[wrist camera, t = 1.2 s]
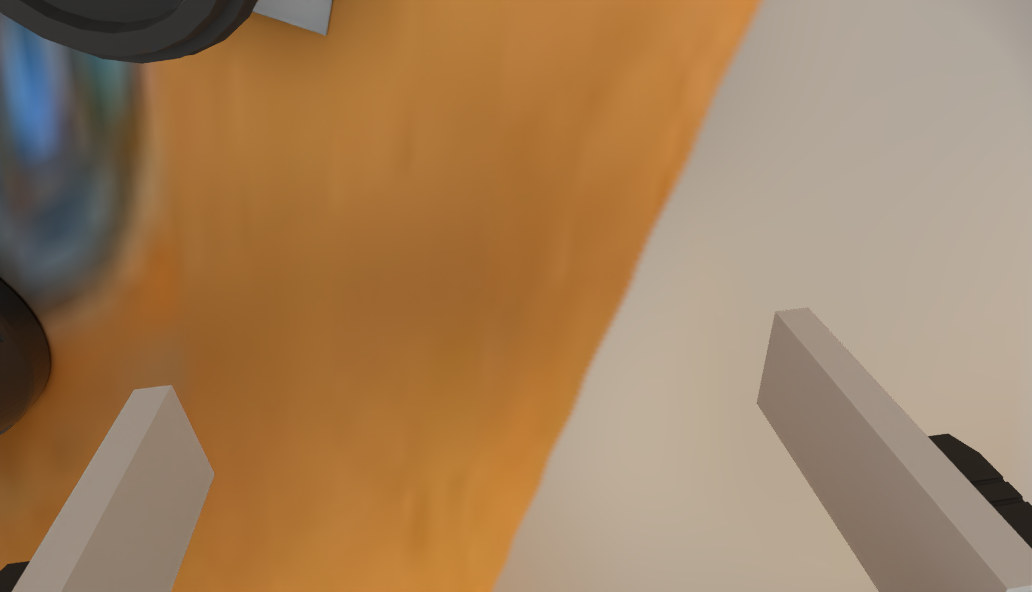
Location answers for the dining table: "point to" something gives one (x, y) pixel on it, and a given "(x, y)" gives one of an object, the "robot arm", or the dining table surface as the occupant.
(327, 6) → the tile
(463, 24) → the dining table surface
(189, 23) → the coffee cup
